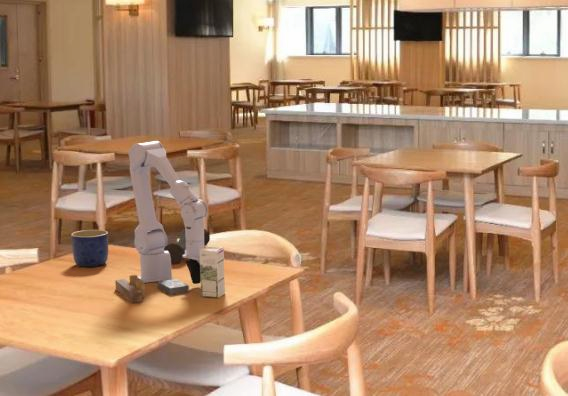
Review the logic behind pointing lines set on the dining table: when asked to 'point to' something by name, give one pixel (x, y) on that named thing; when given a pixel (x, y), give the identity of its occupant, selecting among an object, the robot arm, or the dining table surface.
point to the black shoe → (182, 247)
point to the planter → (90, 247)
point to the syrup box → (212, 272)
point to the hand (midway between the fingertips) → (196, 283)
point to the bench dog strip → (131, 289)
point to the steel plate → (173, 286)
